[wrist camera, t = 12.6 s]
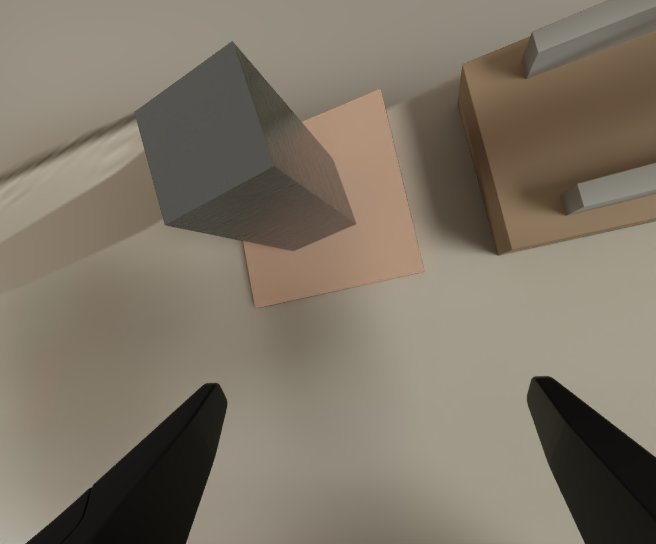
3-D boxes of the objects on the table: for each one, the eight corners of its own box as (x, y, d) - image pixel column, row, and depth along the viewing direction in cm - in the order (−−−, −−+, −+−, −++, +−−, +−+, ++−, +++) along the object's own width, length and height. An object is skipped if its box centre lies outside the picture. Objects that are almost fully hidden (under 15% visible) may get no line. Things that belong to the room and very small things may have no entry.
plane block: (823, 184, 11) (1053, 127, 7) (498, 255, 15) (522, 245, 11) (751, -8, 12) (918, -161, 8) (457, 103, 16) (465, 37, 11)
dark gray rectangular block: (356, 223, 17) (273, 165, 8) (293, 251, 18) (165, 225, 9) (329, 149, 17) (226, 23, 9) (270, 180, 19) (130, 95, 10)
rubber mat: (424, 271, 16) (423, 271, 16) (260, 307, 19) (255, 308, 19) (382, 95, 17) (380, 88, 16) (232, 157, 20) (227, 153, 20)
